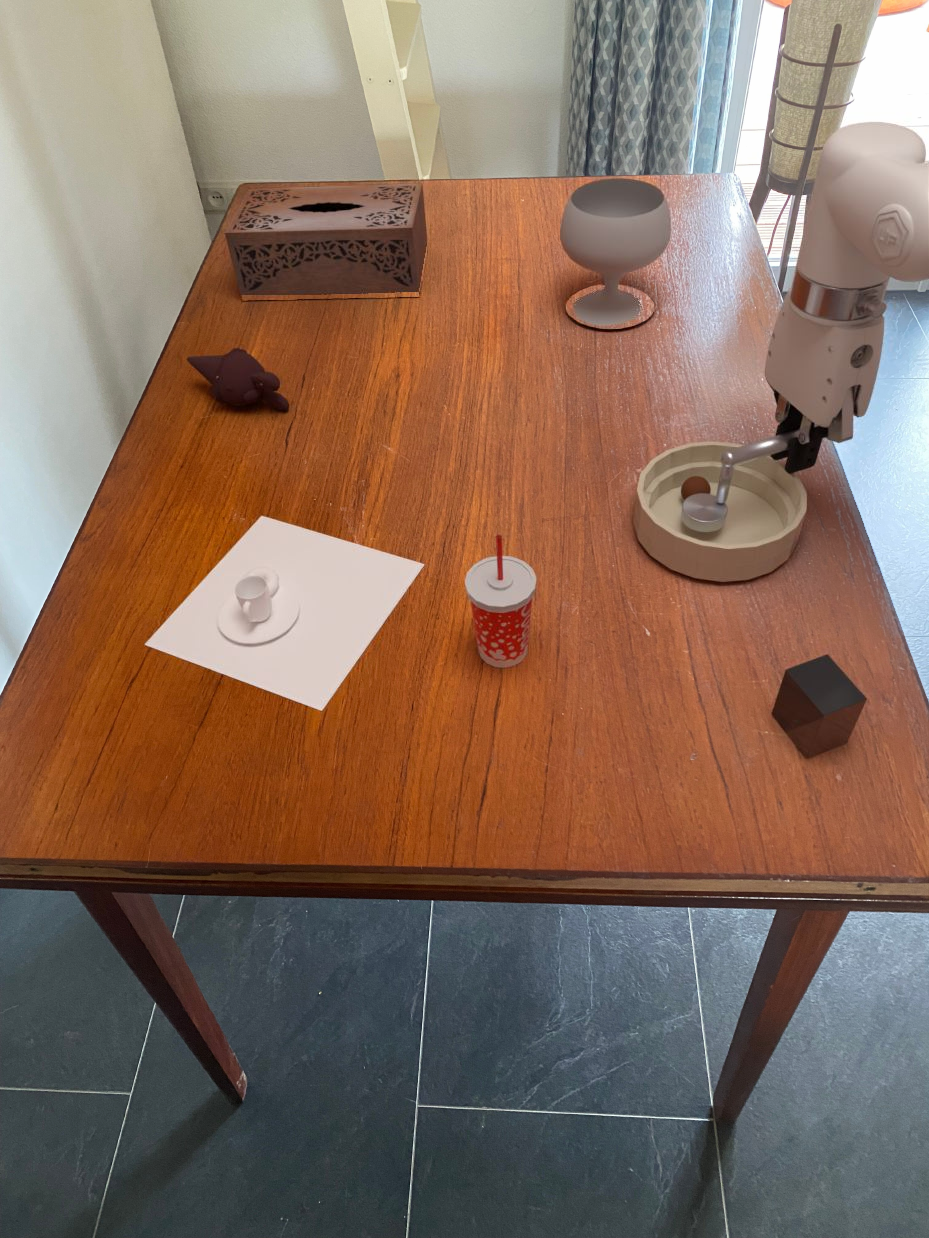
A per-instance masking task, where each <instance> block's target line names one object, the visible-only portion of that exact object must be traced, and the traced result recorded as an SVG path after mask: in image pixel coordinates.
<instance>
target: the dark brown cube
mask: <svg viewBox="0 0 929 1238" xmlns="http://www.w3.org/2000/svg"><path fill="white" fill-rule="evenodd" d="M867 700H868V698H867V697H866V696H865V694H863V692H862V691H861V690H860V689H859V688H858V687H857V685H856V684H855V683H854V682H853V680H851V679H850V678H849V676H848V675H847V674H846V673H845V672H844V671H843V670H842V669H841V667H840V666H839V665H838V664H837V663H836V662H835V660H833V659H832V658H831V656H830V655H829V654H824V655H822V656H819V657H816V658H813V659H810V660H808V661H805V662H801V663H799V664H797V665H794V666H792V667H788V668H786V669H785V671H784V673H783V676H782V679H781V683H780V686H779V689H778V692H777V695H776V698H775V701H774V704H773V707H772V710H771V713H770V714H771V716H772V717H773V718H774V720H775V721H776V722H777V723H778V724H779V726H780V727H781V728H782V729H783V730H784V732H785V733H786V735H787V736H788V737H789V739H790V740H791V741H792V743H794V745H795V746H796V747H797V749H798V751H800V753H801V754H802V755H803V756H804V757H805V759H809V758H813V757H815V756H818V755H820V754H822V753H826V752H827V751H830V750H832V749H835V748H838V747H840V746H843V745H845V744H847V743H849V741H850V738H851V736H852V734H853V731H854V729H855V727H856V725H857V723H858V720H859V718H860V716H861V714H862V711H863V709H864V707H865V705H866V703H867Z"/></svg>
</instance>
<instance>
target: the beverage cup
mask: <svg viewBox="0 0 929 1238" xmlns="http://www.w3.org/2000/svg"><path fill="white" fill-rule="evenodd" d="M495 547H496V555H495V556H490V557H486V558H485V557H484V558H483V559H481V560H479V561H477V562H476V563H474V564H473V565H472V566H471V567H470V569H469V570H467V572H466V575H465V578H464V579H465V580H464V587H465V592H466V595H467V598H468V600H469V601H470V608H471V615H472V619H473V627H474V631H475V632H474V633H475V638H476V645H477V651H478V654H479V657H480V658H481V660H483V662H485V664H487V665H490V666H492V667H494V668H502V669H506V668H511V667H515V666H516V665H518V664H520V663H521V662H523V660H524V659H525V658H526V656H527V655H528V649H529V642H530V641H529V640H530V628H531V616H532V606H533V605H532V604H533V597H534V596H535V595H536V589H537V576H536V573H535V571H534V568H532V566H530V565H529V564H528V563H527V562H525V560H521V559H519V558H517V557H514V556H511V555H510V556H509V555H503V537H502V535H501V534H497V535H495Z"/></svg>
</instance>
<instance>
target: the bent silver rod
mask: <svg viewBox="0 0 929 1238" xmlns="http://www.w3.org/2000/svg"><path fill="white" fill-rule="evenodd" d="M816 426H819V425H817V424H815V426H814V427H816ZM798 433H799V429H797V430H793V431H790V432H787V433H784V434H780V435H777V436H775V435H774V436H771V437H768V438H764V439H761V440H758V441H754V442H751V443H748V444H745V445H744V446H741V447H738V448H735V449H732V450H728V451H726V452H724V453H723V454H722V456H721V462H722V469H721V474H720V479H719V484H718V490H717V495H716V496H715V495H712V494H706V493H699V494H694V495H691V496H689V497H688V498H686V499H685V501H684V502H683V505H682V511H681V519H682V521H683V523H684V524H685V525H686V526H687V527H689V528H690V529H692V530H695V531H699V532H712V531H716V530H718V529H720V528H721V527H722V526H723V525H724V523H725V521H726V516H727V511H728V509H727V505H726V503H725V502H726V501H727V498H728V493H729V488H730V483H731V479H732V474H733V469H734V466H737V465H740V464H743V463H746V462H749V461H753V460H756V459H759V458H762V457H766V456H769V455H772V454H775V453H778V452H782V451H785V450H788V449H790V446H791V441H792V439H793V438H795V437H798Z"/></svg>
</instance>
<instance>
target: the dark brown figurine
mask: <svg viewBox="0 0 929 1238" xmlns="http://www.w3.org/2000/svg"><path fill="white" fill-rule="evenodd" d="M186 361H187V362H188V363H189V364H190V365H191V366H192V367H193V368H194V369H195V370H196V371H197V372H198V374H200V375H202V377H203V378H204V379H205V380H206V381H207V382H208V383H209V384H210V385H211V386H210V388H209V389H210V391H209V392H210V394H211V396H213V397H214V398H215V400H216V402H219V403H222V404H224V405H233V406H235V407H243V406H248V405H251V404H255V403H257V402H258V401H260V400H261V401H263V402H264V403H265V404H267V405H268V406H270V407H271V408H273V409H275V410H278V411H281V412H285V411H286V412H287V411H288V410H289V408H290V403H289V401H288V399H287V398H286V397H284V395H282V394H281V393H280V392H278V391H279V389H280V388H281V381H280V378H279V377H278V376H277V375H276V374H275V373H273V372H270V371H266V370H265V368H264V366H263V365H262V364H261V363H260V362H259V361H258V360H257V359H256V358H255V357H254V356H252V354H249V353H248V351H247V350H246V349H244V348H240V347H234V348H232V349H231V350H230V351H229V352H227V353H225V354H216V355H194V356H187V357H186Z"/></svg>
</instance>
